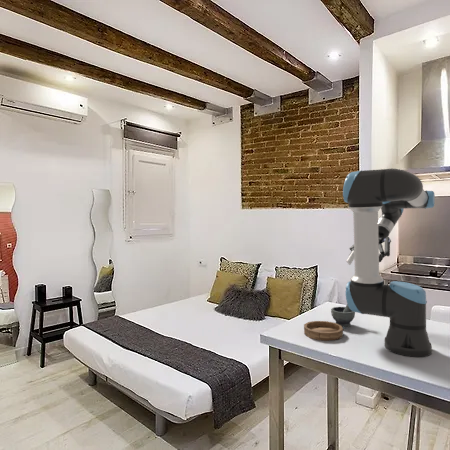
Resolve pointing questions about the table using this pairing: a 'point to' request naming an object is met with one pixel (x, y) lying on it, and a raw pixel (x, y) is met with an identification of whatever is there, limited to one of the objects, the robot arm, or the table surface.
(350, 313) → the mortar and pestle
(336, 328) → the round wooden tray
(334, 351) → the table surface
